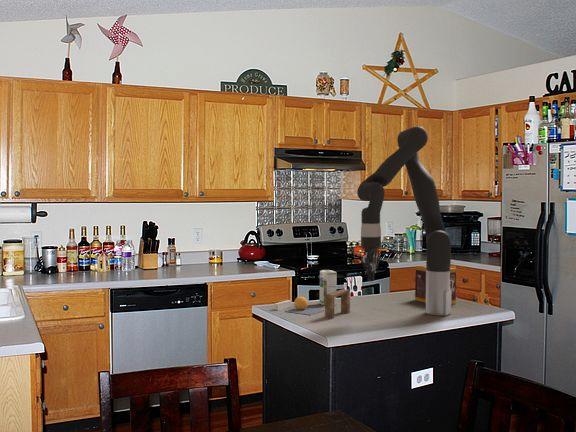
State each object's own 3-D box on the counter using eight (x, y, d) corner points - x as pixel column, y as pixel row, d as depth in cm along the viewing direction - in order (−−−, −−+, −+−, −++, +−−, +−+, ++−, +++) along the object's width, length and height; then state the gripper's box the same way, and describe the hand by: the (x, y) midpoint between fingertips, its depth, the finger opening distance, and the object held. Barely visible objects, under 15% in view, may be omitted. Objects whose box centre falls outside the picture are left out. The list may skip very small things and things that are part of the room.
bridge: (349, 312, 247) (350, 289, 246) (331, 318, 235) (331, 295, 234) (343, 311, 248) (343, 289, 248) (324, 318, 236) (325, 294, 236)
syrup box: (318, 303, 266) (319, 270, 266) (331, 302, 268) (331, 269, 268) (324, 305, 261) (324, 271, 260) (336, 305, 263) (337, 271, 262)
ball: (308, 310, 253) (311, 298, 252) (300, 313, 249) (303, 300, 248) (298, 305, 256) (300, 293, 255) (290, 308, 252) (292, 295, 251)
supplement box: (437, 306, 262) (438, 269, 261) (414, 300, 275) (415, 265, 275) (456, 303, 267) (456, 268, 266) (432, 298, 280) (433, 264, 280)
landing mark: (325, 310, 251) (325, 309, 251) (310, 315, 241) (310, 314, 241) (301, 307, 258) (301, 306, 258) (284, 311, 248) (284, 311, 248)
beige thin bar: (291, 306, 260) (291, 300, 259) (278, 310, 251) (278, 304, 251) (287, 305, 261) (287, 300, 261) (274, 309, 252) (274, 303, 252)
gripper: (372, 236, 224) (372, 284, 225) (387, 234, 236) (387, 279, 236) (353, 236, 229) (354, 282, 229) (369, 234, 240) (369, 278, 240)
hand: (370, 280), depth 233 cm, fingers closed
